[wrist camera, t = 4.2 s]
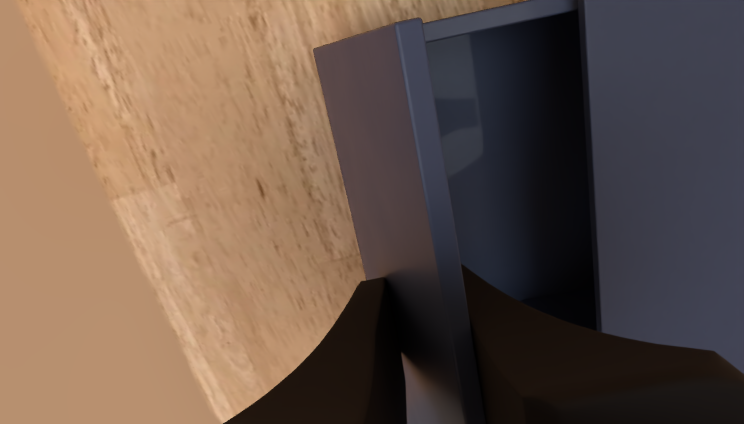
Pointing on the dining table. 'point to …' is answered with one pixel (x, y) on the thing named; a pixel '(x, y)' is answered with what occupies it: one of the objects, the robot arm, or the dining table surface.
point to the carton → (601, 161)
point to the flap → (404, 210)
